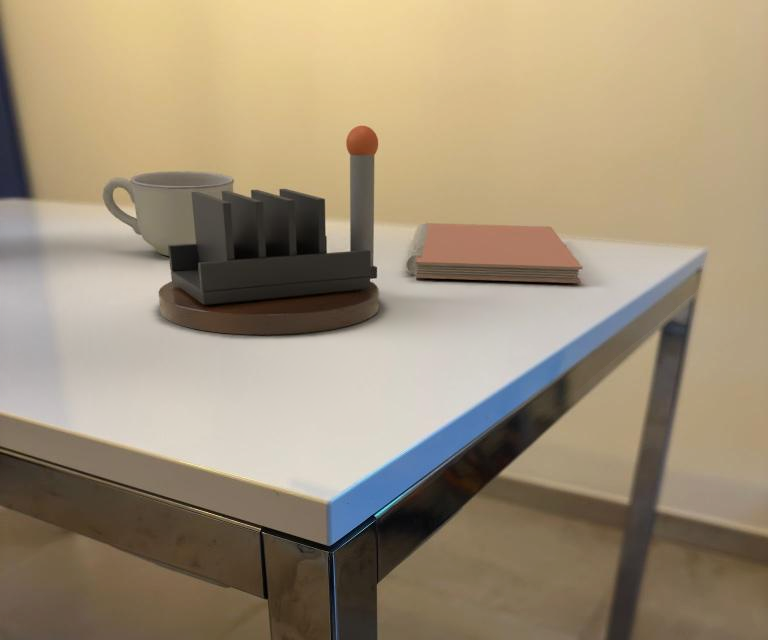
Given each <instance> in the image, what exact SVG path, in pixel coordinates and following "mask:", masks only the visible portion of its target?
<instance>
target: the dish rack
mask: <svg viewBox="0 0 768 640" xmlns="http://www.w3.org/2000/svg"><path fill="white" fill-rule="evenodd" d="M345 145H346V149H347V152H348V154H349V206H350V207H349V234H350V235H349V239H350V241H349V246H350V247H349V249H350V250H349V251H347V250H346V251H336V252H335V251H334V252H328V245H327V244H328V243H327V242H328V241H327V239H328V238H327V235H326V198H323V197H319V196H315V195H311V194H308V193H303V192H300V191H295V190H291V189H289V188H279V191H278V192H279V195H278V194H274V193H272V192H271V193H270V192H267V191H264V190H260V189H250V196H251V197H249V196H246V195H243V194H241V193H237V192H234V191H233V192H230V191H222V200H221V199H218V198H215V197H212V196H209V195H206V194H203V193H200V192H192V193H191V194H192V205H193V215H194V226H195V237H196V243H193V244H177V245H168V251H169V256H168V259H169V266H170V269H169V270H170V276H171V277H170V278H171V281H172V283H174V284H175V285H177V286H178V287H180V288H181V289H182V290H184V291H185V292H187V293H188V294H189V295H191V296H192V297H194V298H195V299H196V300H198V301H199V302H201V303H202V304H203V305H211V304H221V303H231V302H242V301H252V300H262V299H272V298H282V297H292V296H302V295H312V294H323V293H333V292H343V291H353V290H363V289H370V281H371V280H374V279H377V278H378V267H377V266H375V265H374V247H375V246H374V245H375V244H374V242H375V240H374V239H375V237H374V236H375V233H374V232H375V156H376V154H377V151H378V149H379V139H378V136H377V134H376V132H375V131H374V130H373V129H372V128H371V127H369V126H367V125H357V126H355V127H353V128H352V129H350V131H349V132H348V134H347V136H346V141H345Z"/></svg>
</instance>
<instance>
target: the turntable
mask: <svg viewBox="0 0 768 640" xmlns="http://www.w3.org/2000/svg"><path fill="white" fill-rule="evenodd" d="M158 301H159V307H160V308H159V309H160V310H159V311H160V314H161V315H162V316H163V317H164V318H165V319H166V320H167V321H169V322H171V323H174V324H176V325H180V326H182V327H186V328H190V329H194V330H200V331H203V332H204V331H205V332H211V333H218V334H219V333H220V334H231V335H247V336H278V335H280V336H282V335H297V334H308V333H309V334H310V333H317V332H326V331H330V330H337V329H341V328H346V327H349V326H350V327H351V326H353V325H356V324H360V323H362V322H365V321H366V320H369V319H371V318H372V317H374V316H375V315H376V314H377V313H378V311H379V307H380V305H379V304H380V289H379V287H378V285H377V284H375V283H374V282H372V281H371V280H370V289H363V290H353V291H343V292H333V293H323V294H312V295H302V296H292V297H282V298H272V299H262V300H252V301H242V302H231V303H221V304H211V305H203V304H202V303H201V302H199V301H198V300H196V299H195V298H194V297H192V296H191V295H189V294H188V293H187V292H185V291H184V290H182V289H181V288H180V287H178V286H177V285H175V284H174V283H172V280H171V281H168V282H167V283H165V284H164V285H162V286H161V287H160V288H159V290H158Z"/></svg>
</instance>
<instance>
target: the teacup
mask: <svg viewBox="0 0 768 640" xmlns="http://www.w3.org/2000/svg"><path fill="white" fill-rule="evenodd" d="M234 183H235V179H234V177H232V176H230V175H227V174H222V173H217V172H206V171H195V170H194V171H192V170H191V171H189V170H185V171H184V170H175V171H172V170H171V171H169V170H168V171H155V172H146V173H140V174H136V175H133V176H132V177H130V180H129V179H128V178H124V177H113V178H111V179H110V180H108V181H107V182H106V183H105V185H104V187H103V190H102V200H103V203H104V206H105V207H106V209H107V210H108V212H109V213H110V214H112V216H113V217H114V218H116V219H118V220H119V221H120V222H122V223H124V224H126V225H127V226H129V227H130V228H132V230H133V231H134V233H135V234H136V235H138V236H141V237H142V239H143V240H144V241H145V243H147V245H149V246H151V247H152V248H154V250H155V251H156V252H157V253H159V254H160V255H163V256H166V257H169V251H168V245H177V244H193V243H196V237H195V226H194V215H193V205H192V194H191V193H192V192H200V193H203V194H206V195H209V196H212V197H215V198H218V199H221V200H222V191H230V192H234ZM117 188H120V189H123V190H125V191H126V192H127V194H128V195H129V197H130V200H131V202H132V203H133V204H134V210H135V216H136V217H134V216H132V215H130V214H128V213H127V212H125V211H124V210H122V209H121V207H119V206H118V204H117V203H116V202H115V200H114V191H115V190H116V189H117Z"/></svg>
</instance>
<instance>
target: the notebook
mask: <svg viewBox="0 0 768 640" xmlns="http://www.w3.org/2000/svg"><path fill="white" fill-rule="evenodd" d="M405 265H406V270H407V271H408V272H409V273H410V274H411V275H413V276H415V278H416V279H421V278H422V279H443V280H447V279H448V280H473V281H476V280H477V281H503V282H504V281H505V282H532V283H533V282H535V283H561V284H562V283H567V284H581V279H580V278H579V273H580V272H579V270H583V266H582V264H581V263H580V262H579V260H578V259H577V258H576V257H575V255H574V254H573V253H572V252H571V250H570V249H569V248H568V246H567V245H566V244H565V242H564V241H563V240H562V239H561V238H560V236H559V235H558V234H557V233H556V232H555V230H554V229H553V228H552V226H542V225H541V226H539V225H538V226H537V225H508V224H500V225H499V224H476V223H475V224H473V223H472V224H470V223H437V222H425V223H421V224H418V225H417V227H416V229H415V232H414V236H413V239H412V242H411V246H410V249H409V253H408V256H407V259H406V263H405Z"/></svg>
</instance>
